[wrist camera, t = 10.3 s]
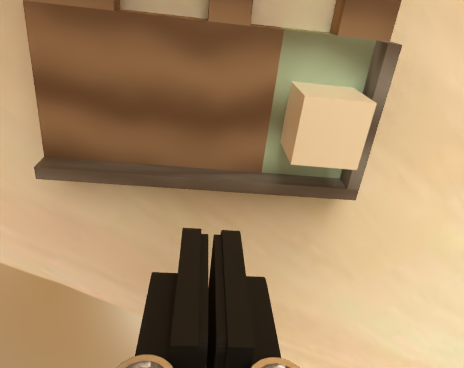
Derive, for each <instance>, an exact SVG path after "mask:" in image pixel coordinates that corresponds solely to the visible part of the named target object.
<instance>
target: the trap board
mask: <svg viewBox="0 0 464 368" xmlns="http://www.w3.org/2000/svg"><path fill="white" fill-rule="evenodd" d="M400 4H401V0H337V2H336V6H335V11H334V16H333V20H332V25H331V30H330V33H326V32H317V31H308V30H299V29H290V28H281V27H273V26H264V25H255V24H250V22H251V14H252V5H253V0H210V1H209V15H208V19H201V18H192V17H184V16H175V15H166V14H157V13H148V12H139V11H130V10H121V9H120V0H23V5H24V12H25V19H26V27H27V34H28V41H29V48H30V56H31V63H32V70H33V77H34V85H35V92H36V99H37V106H38V114H39V121H40V128H41V135H42V143H43V150H44V158H43V159H42V160H41V161H40V162H39V163H38V164H37V165H36V166H35V167H34V169H35V176H36V179H46V180H61V181H76V182H91V183H106V184H121V185H136V186H150V187H165V188H180V189H195V190H210V191H225V192H240V193H255V194H269V195H284V196H299V197H314V198H329V199H344V200H356V197H357V194H358V190H359V187H360V184H361V180H362V177H363V174H364V170H365V167H366V164H367V160H368V157H369V154H370V150H371V147H372V144H373V140H374V137H375V134H376V130H377V127H378V124H379V121H380V117H381V114H382V111H383V107H384V104H385V101H386V97H387V94H388V91H389V87H390V84H391V81H392V77H393V74H394V71H395V67H396V64H397V61H398V57H399V54H400V51H401V47H402V45H400V44H397V43H393V42H390V39H391V35H392V32H393V28H394V25H395V21H396V18H397V14H398V11H399V7H400ZM291 81H295V82H304V83H313V84H323V85H332V86H341V87H351V88H355V89H356V90H358V91H359V92H361V93H362V94H364V95H365V96H367V97H368V98H370V99H371V100H373V101H374V102H375V103H377V105H376V108H375V111H374V115H373V118H372V121H371V125H370V128H369V131H368V135H367V138H366V141H365V145H364V148H363V151H362V155H361V158H360V161H359V165H358V168H357V170H350V169H338V168H326V167H314V166H302V165H291V164H290V162H289V160H288V158H287V156H286V153H285V151H284V149H283V147H282V145H281V143H280V140H281V135H282V129H283V124H284V118H285V113H286V108H287V102H288V97H289V92H290V86H291Z"/></svg>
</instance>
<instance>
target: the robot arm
mask: <svg viewBox="0 0 464 368" xmlns="http://www.w3.org/2000/svg"><path fill="white" fill-rule="evenodd" d="M117 368H300V367H299V366H297V365H296V364H294V363H292V362H291V361H289V360H286V359H282V358H281V354H280V349H279V344H278V339H277V334H276V329H275V324H274V319H273V314H272V308H271V303H270V298H269V293H268V288H267V283H266V279H265V278H264V277H250V276H246V273H245V265H244V257H243V249H242V242H241V234H240V231H230V230H221V235H214V238H213V248H212V258H211V267H210V277H209V287H208V234H201V229H194V228H183V231H182V240H181V249H180V259H179V268H178V273H159V272H152V275H151V279H150V284H149V289H148V294H147V299H146V304H145V309H144V314H143V319H142V324H141V329H140V334H139V339H138V344H137V349H136V354H135V357H131V358H129V359H128V360H126V361H124V362H122V363H121V364H120V365H119V366H118V367H117Z"/></svg>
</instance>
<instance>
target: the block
mask: <svg viewBox="0 0 464 368" xmlns="http://www.w3.org/2000/svg"><path fill="white" fill-rule="evenodd" d="M376 105H377V103H375V102H374V101H373V100H371V99H370V98H368V97H367V96H365V95H364V94H362V93H361V92H359V91H358V90H356V89H355V88H351V87H341V86H332V85H323V84H313V83H304V82H295V81H291V86H290V92H289V97H288V102H287V108H286V113H285V118H284V124H283V129H282V135H281V140H280V143H281V145H282V147H283V149H284V151H285V153H286V156H287V158H288V160H289V162H290V164H291V165H302V166H314V167H326V168H338V169H350V170H357V168H358V165H359V161H360V158H361V155H362V151H363V148H364V145H365V141H366V138H367V135H368V131H369V128H370V125H371V121H372V118H373V115H374V111H375V108H376Z"/></svg>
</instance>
